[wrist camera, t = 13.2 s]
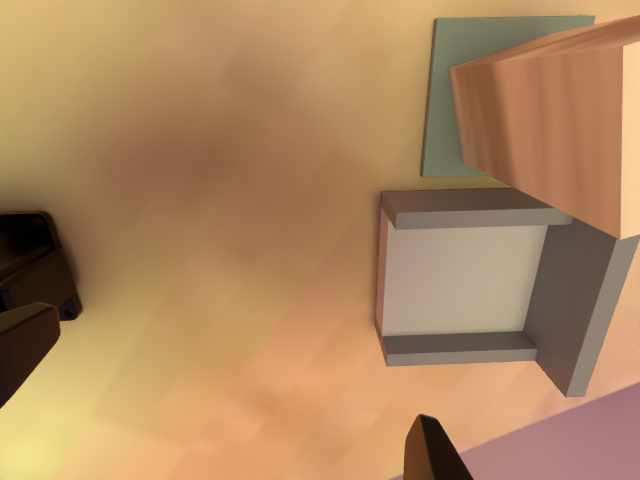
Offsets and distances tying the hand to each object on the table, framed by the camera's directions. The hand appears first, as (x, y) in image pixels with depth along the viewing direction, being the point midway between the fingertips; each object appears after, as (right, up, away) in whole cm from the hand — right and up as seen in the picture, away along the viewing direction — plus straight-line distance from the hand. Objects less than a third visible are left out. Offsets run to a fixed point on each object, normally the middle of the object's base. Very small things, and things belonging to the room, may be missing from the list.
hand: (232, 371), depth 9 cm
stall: (+9, +2, +12) cm, 16 cm away
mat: (+11, +10, +9) cm, 17 cm away
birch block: (+11, +10, +9) cm, 17 cm away
